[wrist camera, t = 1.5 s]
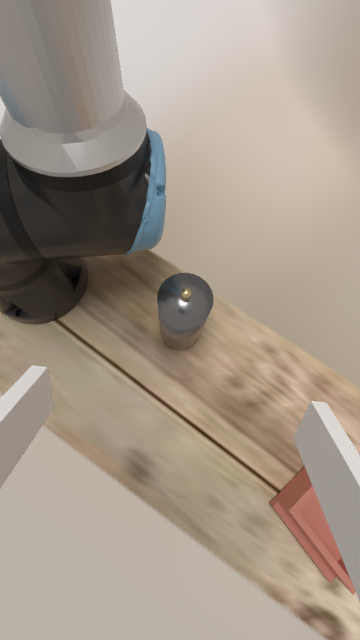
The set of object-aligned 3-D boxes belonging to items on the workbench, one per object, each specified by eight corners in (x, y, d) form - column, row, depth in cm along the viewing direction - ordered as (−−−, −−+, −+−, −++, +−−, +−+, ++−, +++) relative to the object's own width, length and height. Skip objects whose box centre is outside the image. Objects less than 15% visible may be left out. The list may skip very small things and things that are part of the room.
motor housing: (153, 328, 40) (144, 286, 25) (182, 307, 41) (191, 255, 26) (176, 357, 39) (181, 332, 24) (205, 335, 40) (228, 297, 25)
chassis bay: (269, 503, 33) (283, 517, 29) (328, 441, 36) (348, 447, 32) (324, 576, 31) (347, 602, 27) (382, 505, 34) (411, 519, 30)
